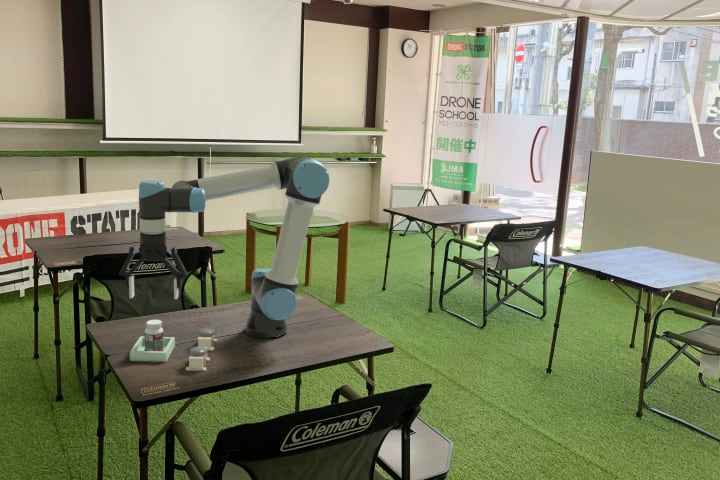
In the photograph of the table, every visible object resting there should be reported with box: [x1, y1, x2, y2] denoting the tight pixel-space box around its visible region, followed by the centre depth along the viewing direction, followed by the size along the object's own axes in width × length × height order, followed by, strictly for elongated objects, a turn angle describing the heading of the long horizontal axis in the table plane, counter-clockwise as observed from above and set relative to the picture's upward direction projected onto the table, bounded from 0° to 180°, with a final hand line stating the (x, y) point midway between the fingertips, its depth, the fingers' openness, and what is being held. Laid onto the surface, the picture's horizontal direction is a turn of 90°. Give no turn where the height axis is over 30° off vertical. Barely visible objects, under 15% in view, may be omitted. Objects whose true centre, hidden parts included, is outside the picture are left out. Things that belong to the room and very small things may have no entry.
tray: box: [129, 335, 176, 363], centre depth 200 cm, size 11×13×3 cm
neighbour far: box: [198, 328, 216, 347], centre depth 209 cm, size 5×5×5 cm
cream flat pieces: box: [185, 336, 218, 372], centre depth 202 cm, size 6×24×4 cm, turn 5°
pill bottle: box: [144, 319, 164, 351], centre depth 200 cm, size 6×6×10 cm
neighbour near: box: [189, 346, 208, 367], centre depth 194 cm, size 5×5×5 cm
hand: (154, 297), depth 197 cm, fingers open, 13 cm apart
